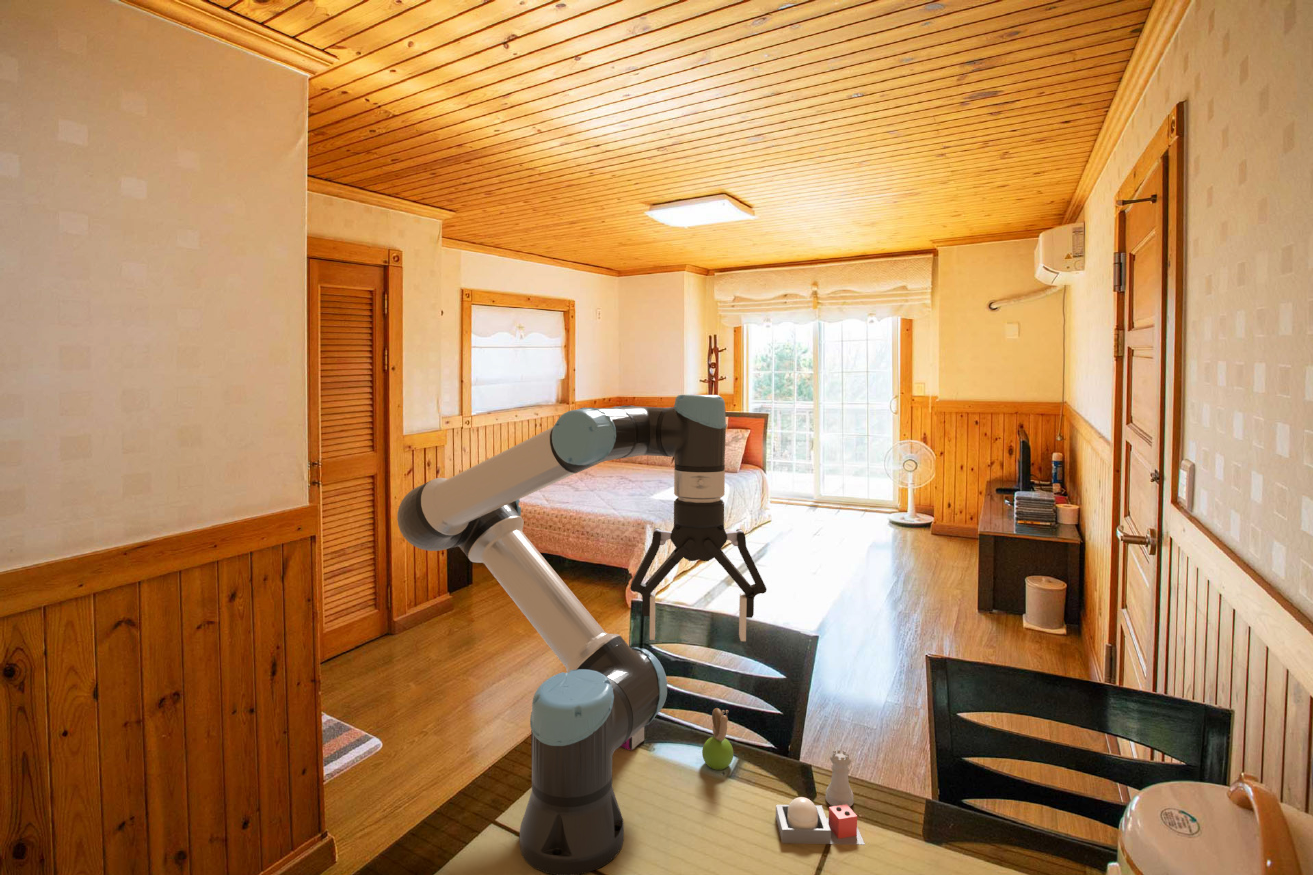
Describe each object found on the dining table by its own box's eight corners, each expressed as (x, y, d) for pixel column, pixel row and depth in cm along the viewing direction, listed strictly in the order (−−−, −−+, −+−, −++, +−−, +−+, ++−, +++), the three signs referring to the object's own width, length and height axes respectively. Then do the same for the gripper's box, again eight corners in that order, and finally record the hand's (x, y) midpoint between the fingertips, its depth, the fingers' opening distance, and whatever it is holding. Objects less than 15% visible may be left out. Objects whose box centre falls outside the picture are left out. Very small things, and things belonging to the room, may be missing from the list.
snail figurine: (709, 781, 116) (710, 712, 115) (698, 761, 122) (699, 695, 122) (739, 777, 117) (740, 709, 117) (727, 757, 124) (728, 693, 123)
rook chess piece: (854, 811, 107) (856, 762, 107) (825, 808, 108) (826, 759, 108) (852, 795, 112) (854, 748, 111) (824, 792, 113) (825, 744, 112)
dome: (790, 836, 101) (790, 808, 100) (785, 818, 105) (785, 790, 105) (820, 837, 100) (821, 808, 100) (813, 818, 105) (814, 791, 105)
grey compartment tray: (781, 845, 100) (782, 820, 100) (775, 820, 106) (776, 796, 106) (864, 847, 100) (865, 822, 99) (853, 821, 106) (854, 797, 105)
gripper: (613, 501, 99) (612, 645, 100) (787, 503, 98) (784, 647, 100) (617, 493, 106) (616, 627, 108) (779, 495, 106) (776, 629, 107)
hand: (697, 637), depth 104 cm, fingers open, 13 cm apart
